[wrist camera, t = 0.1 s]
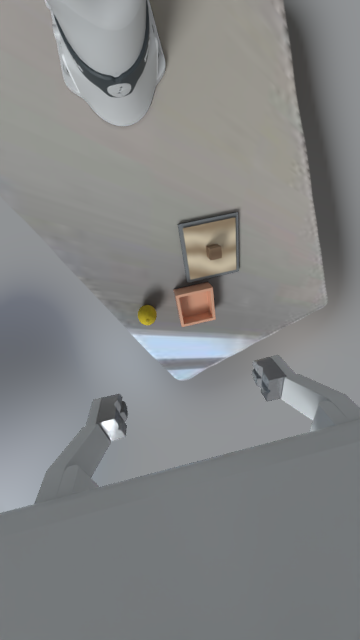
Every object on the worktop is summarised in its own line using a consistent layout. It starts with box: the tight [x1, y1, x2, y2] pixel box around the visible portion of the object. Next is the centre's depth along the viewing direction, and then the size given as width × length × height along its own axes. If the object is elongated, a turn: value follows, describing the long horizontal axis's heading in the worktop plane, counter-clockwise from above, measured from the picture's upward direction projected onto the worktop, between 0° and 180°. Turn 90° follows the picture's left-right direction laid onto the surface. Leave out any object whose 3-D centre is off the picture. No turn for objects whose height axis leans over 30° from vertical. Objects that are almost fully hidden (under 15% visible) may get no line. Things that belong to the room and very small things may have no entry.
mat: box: [178, 212, 239, 283], centre depth 55 cm, size 16×16×1 cm
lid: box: [183, 217, 236, 279], centre depth 52 cm, size 14×14×5 cm
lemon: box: [138, 305, 156, 325], centre depth 58 cm, size 6×6×8 cm
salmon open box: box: [174, 282, 216, 327], centre depth 61 cm, size 11×11×5 cm
